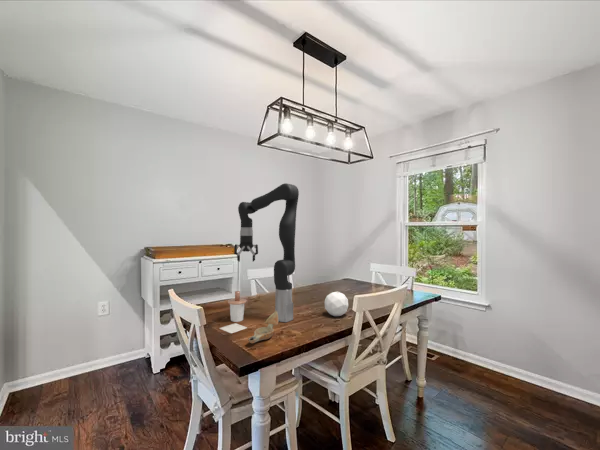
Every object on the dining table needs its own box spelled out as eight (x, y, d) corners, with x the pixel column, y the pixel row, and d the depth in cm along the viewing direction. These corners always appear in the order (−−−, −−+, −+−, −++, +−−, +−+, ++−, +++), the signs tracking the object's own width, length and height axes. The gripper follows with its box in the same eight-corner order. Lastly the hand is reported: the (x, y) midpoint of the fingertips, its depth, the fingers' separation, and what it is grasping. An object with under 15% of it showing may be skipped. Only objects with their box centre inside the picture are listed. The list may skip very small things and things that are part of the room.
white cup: (238, 317, 158) (238, 299, 158) (247, 320, 153) (247, 301, 153) (226, 320, 151) (226, 302, 151) (235, 323, 146) (235, 304, 146)
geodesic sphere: (332, 299, 176) (327, 283, 168) (354, 302, 168) (349, 286, 161) (324, 318, 165) (317, 303, 158) (347, 323, 158) (341, 307, 151)
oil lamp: (283, 332, 135) (283, 311, 136) (257, 349, 117) (257, 325, 117) (268, 329, 139) (268, 309, 140) (241, 345, 121) (241, 322, 121)
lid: (250, 301, 153) (250, 291, 153) (235, 305, 145) (235, 294, 145) (238, 298, 159) (239, 288, 159) (224, 302, 151) (224, 291, 151)
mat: (247, 328, 140) (247, 327, 140) (231, 334, 132) (231, 333, 132) (235, 323, 146) (235, 323, 146) (219, 329, 139) (219, 328, 139)
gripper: (258, 234, 174) (258, 260, 174) (235, 234, 173) (235, 260, 172) (257, 235, 166) (257, 262, 166) (233, 235, 165) (233, 262, 165)
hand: (246, 261), depth 169 cm, fingers open, 8 cm apart
